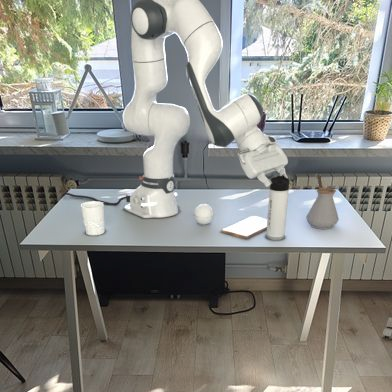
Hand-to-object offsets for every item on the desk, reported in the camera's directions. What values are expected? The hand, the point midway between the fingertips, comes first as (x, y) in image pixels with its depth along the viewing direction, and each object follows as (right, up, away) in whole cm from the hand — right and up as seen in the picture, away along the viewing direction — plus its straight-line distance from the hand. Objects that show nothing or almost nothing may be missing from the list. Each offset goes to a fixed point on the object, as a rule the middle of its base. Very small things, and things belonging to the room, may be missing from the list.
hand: (277, 182), depth 164 cm
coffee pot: (+19, -7, +24) cm, 32 cm away
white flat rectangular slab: (-7, -10, +19) cm, 22 cm away
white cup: (-63, -13, +16) cm, 66 cm away
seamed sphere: (-24, -9, +22) cm, 33 cm away
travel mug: (+1, -15, +11) cm, 19 cm away
